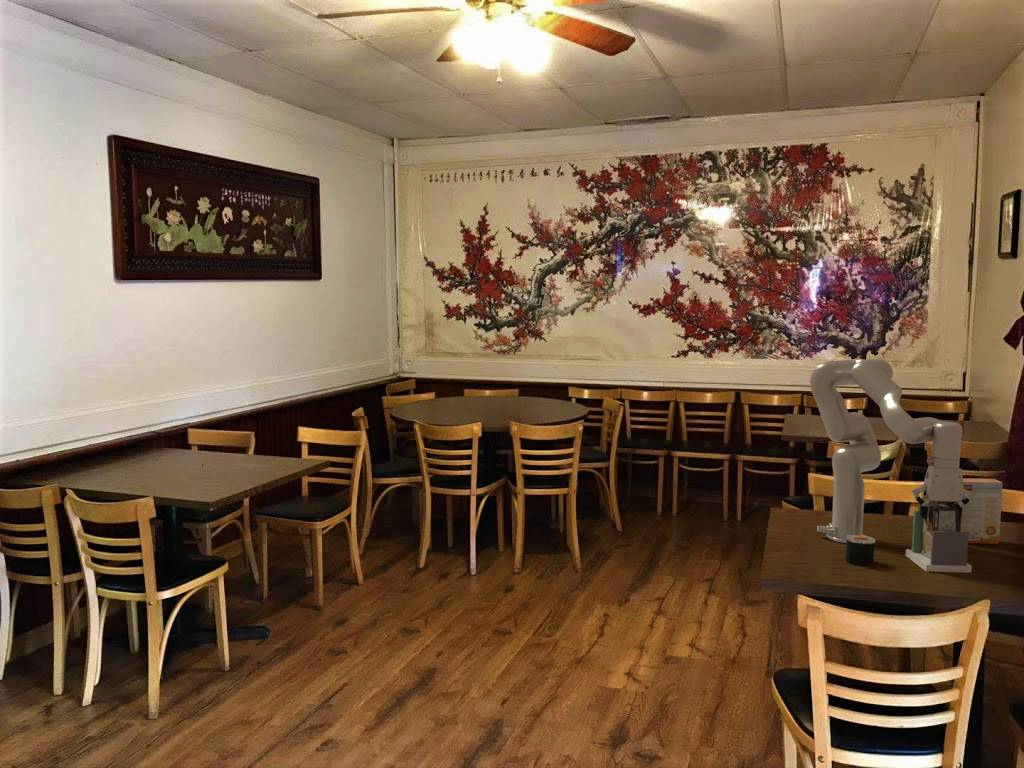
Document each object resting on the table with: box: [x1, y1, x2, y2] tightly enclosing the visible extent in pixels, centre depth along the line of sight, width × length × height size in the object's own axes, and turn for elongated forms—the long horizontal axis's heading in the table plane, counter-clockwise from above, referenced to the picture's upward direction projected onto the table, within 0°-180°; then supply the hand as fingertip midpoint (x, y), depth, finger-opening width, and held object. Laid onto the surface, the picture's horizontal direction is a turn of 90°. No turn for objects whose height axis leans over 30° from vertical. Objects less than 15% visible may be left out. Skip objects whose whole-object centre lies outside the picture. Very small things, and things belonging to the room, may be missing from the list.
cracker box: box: [960, 477, 1003, 545], centre depth 278 cm, size 14×6×21 cm, turn 84°
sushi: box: [845, 534, 876, 567], centre depth 258 cm, size 8×8×8 cm
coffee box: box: [921, 502, 959, 559], centre depth 255 cm, size 9×6×16 cm
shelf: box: [905, 509, 973, 574], centre depth 256 cm, size 13×15×15 cm
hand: (940, 518), depth 254 cm, fingers open, 9 cm apart
